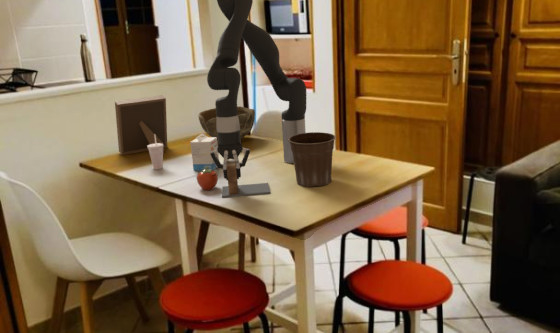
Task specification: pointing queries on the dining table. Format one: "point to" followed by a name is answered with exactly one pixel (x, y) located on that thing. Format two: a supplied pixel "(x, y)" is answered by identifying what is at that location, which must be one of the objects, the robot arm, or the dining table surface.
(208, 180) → the tomato
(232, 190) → the walnut slab
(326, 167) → the plant pot
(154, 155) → the smoothie
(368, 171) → the dining table surface
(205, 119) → the bowl
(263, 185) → the mat
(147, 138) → the photo frame
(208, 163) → the milk carton
